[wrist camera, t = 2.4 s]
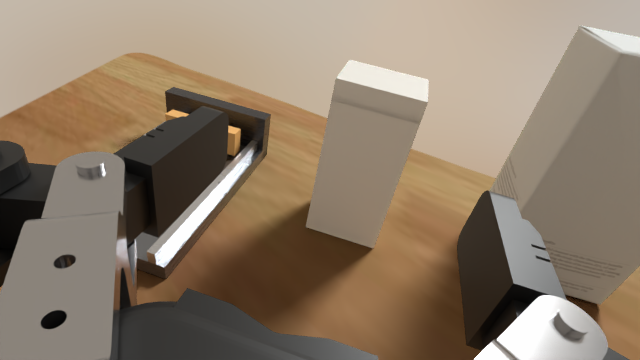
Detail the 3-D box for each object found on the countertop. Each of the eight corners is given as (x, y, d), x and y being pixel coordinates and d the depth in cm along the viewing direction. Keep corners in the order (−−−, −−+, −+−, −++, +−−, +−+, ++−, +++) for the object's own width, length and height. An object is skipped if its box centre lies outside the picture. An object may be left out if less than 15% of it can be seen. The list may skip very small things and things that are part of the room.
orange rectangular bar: (239, 150, 30) (240, 129, 28) (234, 155, 29) (235, 134, 28) (174, 131, 30) (172, 109, 29) (167, 135, 29) (165, 114, 28)
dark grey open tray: (266, 154, 32) (270, 114, 30) (166, 279, 20) (159, 227, 18) (176, 127, 33) (173, 87, 31) (28, 230, 21) (5, 176, 19)
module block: (380, 214, 28) (428, 79, 22) (373, 248, 25) (427, 102, 19) (319, 195, 29) (349, 59, 22) (305, 227, 25) (336, 78, 19)
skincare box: (572, 246, 29) (731, 54, 20) (604, 314, 24) (841, 92, 15) (469, 216, 30) (577, 19, 21) (477, 274, 25) (628, 43, 16)
